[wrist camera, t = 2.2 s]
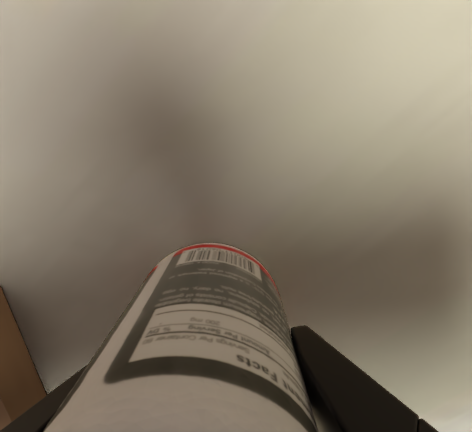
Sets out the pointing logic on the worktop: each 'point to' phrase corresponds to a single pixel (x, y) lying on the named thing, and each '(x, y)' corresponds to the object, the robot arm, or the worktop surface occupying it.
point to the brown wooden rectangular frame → (15, 370)
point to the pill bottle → (195, 355)
